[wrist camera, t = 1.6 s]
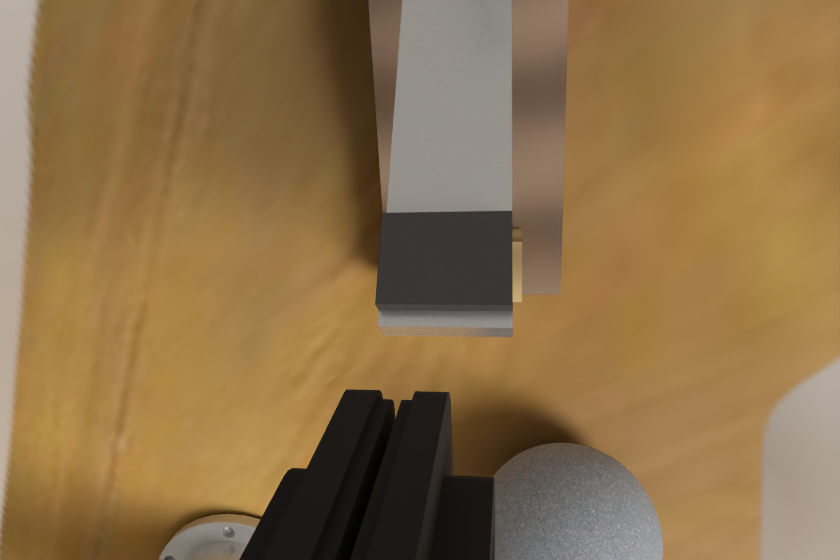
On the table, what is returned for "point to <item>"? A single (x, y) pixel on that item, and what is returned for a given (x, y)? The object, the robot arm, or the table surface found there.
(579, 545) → the decorative stone
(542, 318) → the table surface
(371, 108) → the table surface
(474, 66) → the grey flat bar
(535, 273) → the mount block
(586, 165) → the table surface
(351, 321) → the table surface
